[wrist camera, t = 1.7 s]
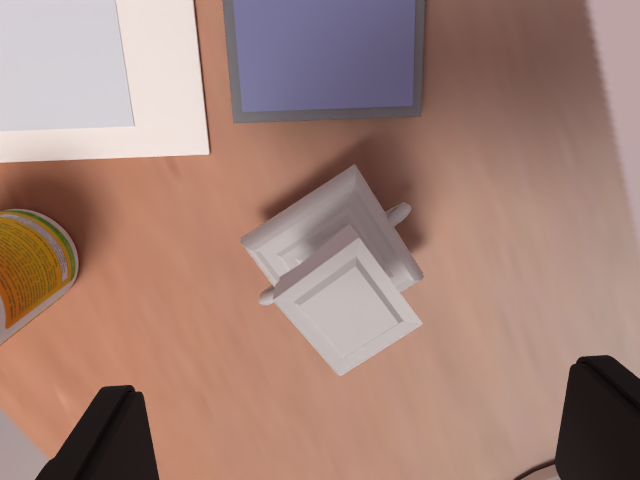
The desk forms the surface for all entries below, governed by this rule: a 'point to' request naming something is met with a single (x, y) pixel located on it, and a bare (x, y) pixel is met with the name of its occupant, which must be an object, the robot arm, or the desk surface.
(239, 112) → the ink pad
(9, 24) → the paper
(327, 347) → the stamp
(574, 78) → the desk surface
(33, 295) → the supplement bottle
